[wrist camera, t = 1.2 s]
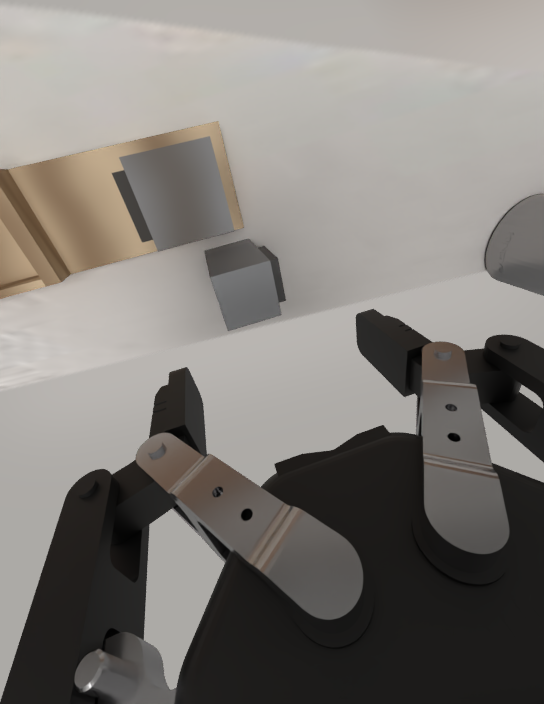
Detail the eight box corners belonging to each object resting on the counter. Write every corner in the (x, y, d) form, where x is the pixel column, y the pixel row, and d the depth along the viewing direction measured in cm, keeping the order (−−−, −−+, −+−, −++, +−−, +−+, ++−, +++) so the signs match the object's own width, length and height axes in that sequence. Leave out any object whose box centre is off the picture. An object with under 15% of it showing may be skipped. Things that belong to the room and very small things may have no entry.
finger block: (257, 236, 25) (281, 257, 19) (266, 279, 28) (291, 311, 21) (204, 250, 25) (210, 277, 18) (218, 293, 27) (228, 331, 20)
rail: (215, 126, 21) (234, 90, 12) (239, 223, 24) (267, 248, 16) (-97, 199, 19) (-343, 217, 10) (-20, 292, 22) (-152, 365, 14)
